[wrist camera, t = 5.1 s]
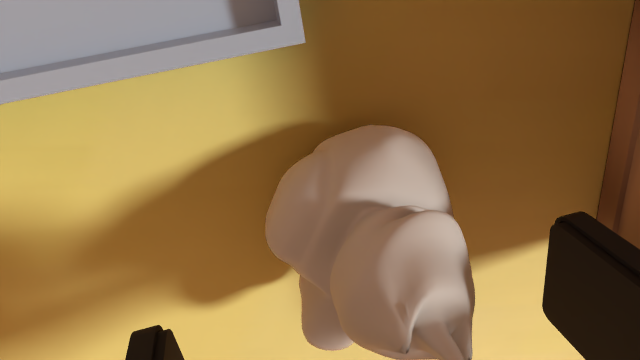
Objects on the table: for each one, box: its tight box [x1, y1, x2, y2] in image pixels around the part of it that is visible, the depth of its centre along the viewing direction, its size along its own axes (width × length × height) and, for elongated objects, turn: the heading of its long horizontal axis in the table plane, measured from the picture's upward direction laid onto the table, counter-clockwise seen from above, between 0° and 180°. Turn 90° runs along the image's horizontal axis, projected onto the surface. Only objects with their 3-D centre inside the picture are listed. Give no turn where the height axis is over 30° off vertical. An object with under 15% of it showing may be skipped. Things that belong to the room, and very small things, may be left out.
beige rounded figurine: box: [265, 125, 475, 360], centre depth 11 cm, size 5×7×8 cm
